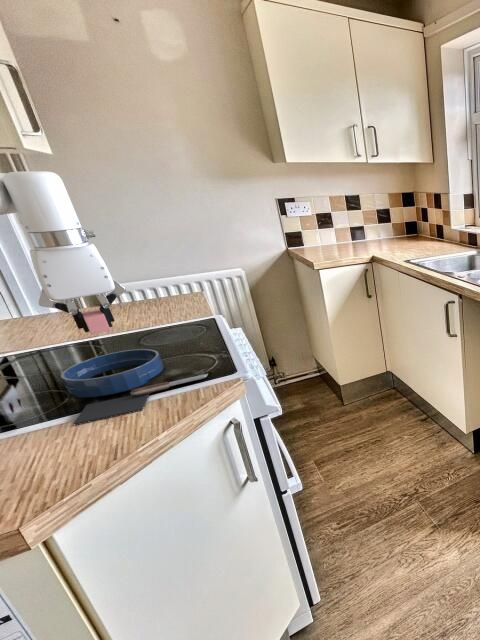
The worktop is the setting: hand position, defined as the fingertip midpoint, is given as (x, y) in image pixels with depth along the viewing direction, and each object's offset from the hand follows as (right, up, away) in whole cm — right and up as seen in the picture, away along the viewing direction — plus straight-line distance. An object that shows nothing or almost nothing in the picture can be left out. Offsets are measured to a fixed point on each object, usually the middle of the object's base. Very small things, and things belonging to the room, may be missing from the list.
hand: (98, 327), depth 89 cm
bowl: (0, -12, +5) cm, 13 cm away
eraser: (0, 0, 0) cm, 0 cm away
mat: (+9, -16, -6) cm, 19 cm away
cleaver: (+14, -13, +2) cm, 19 cm away
